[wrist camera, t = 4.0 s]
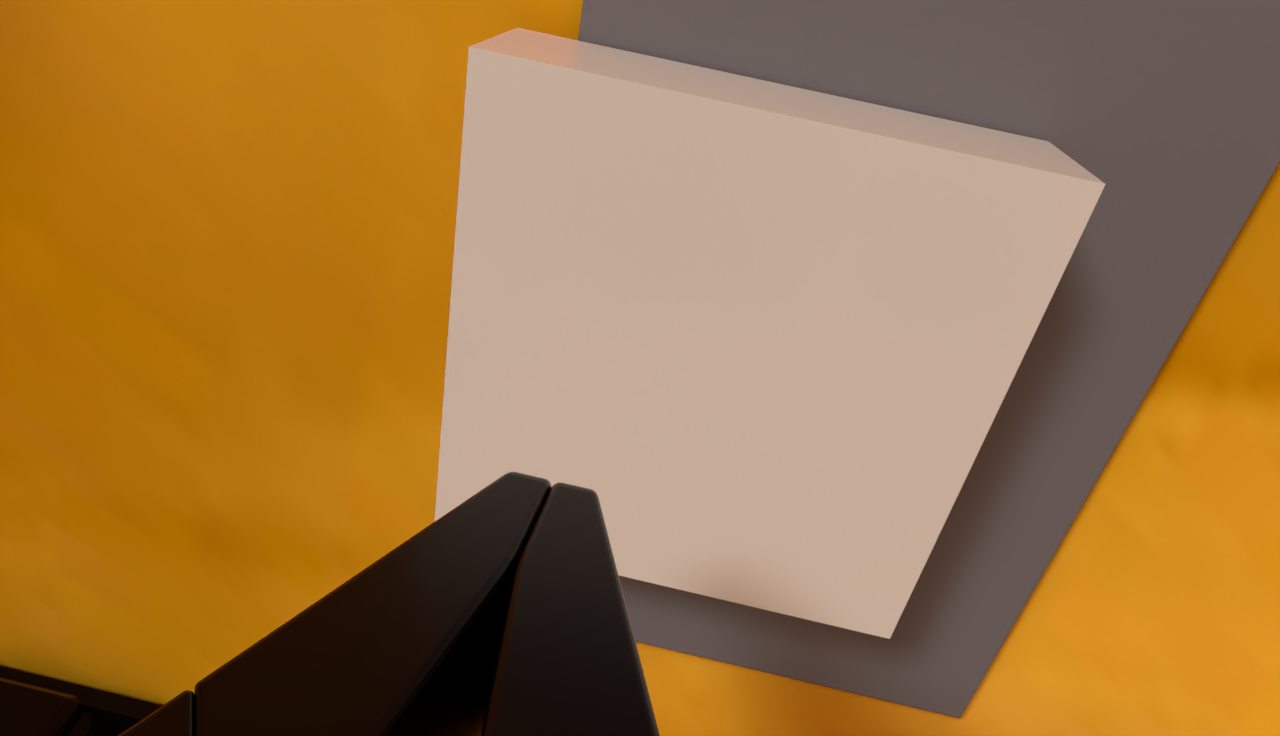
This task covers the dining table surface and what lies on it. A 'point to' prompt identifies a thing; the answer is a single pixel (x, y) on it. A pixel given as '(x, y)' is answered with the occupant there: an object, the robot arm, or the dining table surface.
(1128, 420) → the mat
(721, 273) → the block
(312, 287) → the dining table surface
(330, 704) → the robot arm
